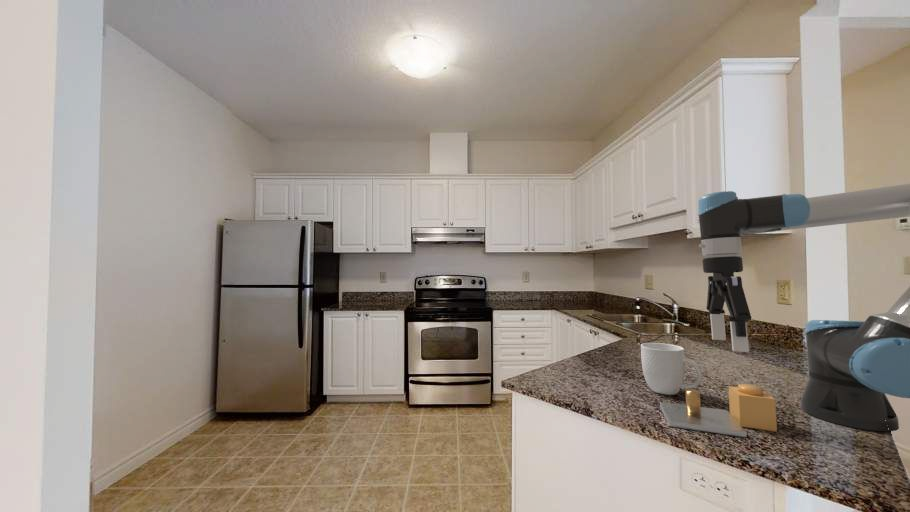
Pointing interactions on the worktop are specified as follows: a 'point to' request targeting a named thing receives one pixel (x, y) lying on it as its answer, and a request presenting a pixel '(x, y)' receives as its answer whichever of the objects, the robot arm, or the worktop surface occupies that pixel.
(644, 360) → the mug
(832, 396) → the robot arm
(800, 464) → the worktop surface
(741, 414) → the cube with dome top
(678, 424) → the plate with brass peg
